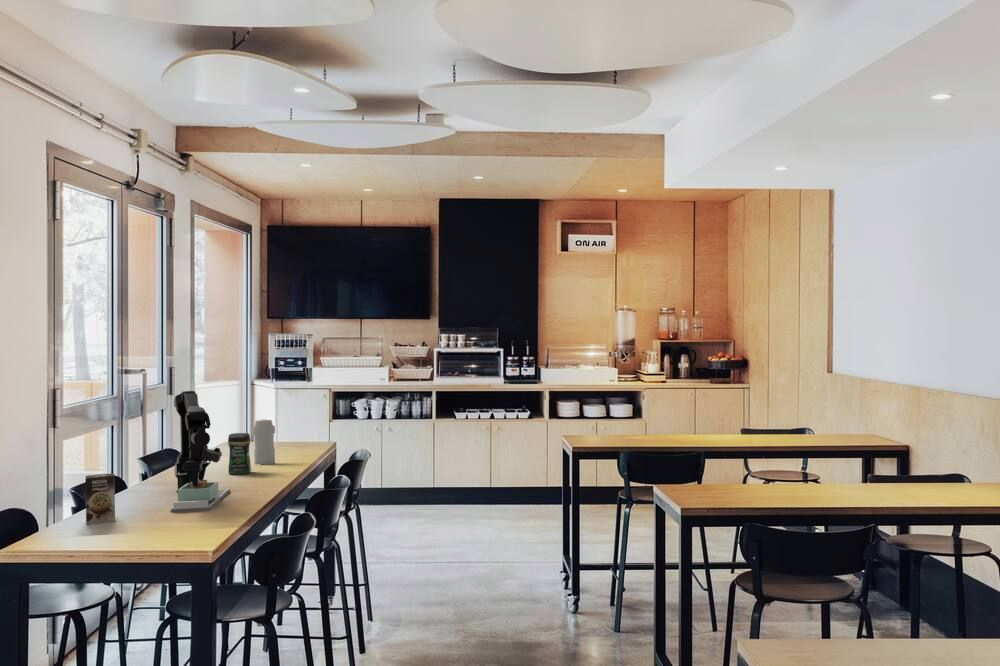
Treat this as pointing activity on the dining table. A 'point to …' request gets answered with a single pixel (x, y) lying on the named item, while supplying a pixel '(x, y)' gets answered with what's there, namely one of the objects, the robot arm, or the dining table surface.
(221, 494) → the rail board
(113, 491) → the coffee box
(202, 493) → the sage green storage bin
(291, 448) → the dining table surface
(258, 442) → the tall pale column
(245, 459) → the coffee jar
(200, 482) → the block
